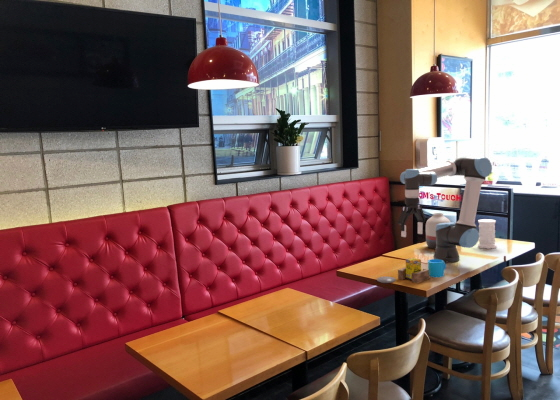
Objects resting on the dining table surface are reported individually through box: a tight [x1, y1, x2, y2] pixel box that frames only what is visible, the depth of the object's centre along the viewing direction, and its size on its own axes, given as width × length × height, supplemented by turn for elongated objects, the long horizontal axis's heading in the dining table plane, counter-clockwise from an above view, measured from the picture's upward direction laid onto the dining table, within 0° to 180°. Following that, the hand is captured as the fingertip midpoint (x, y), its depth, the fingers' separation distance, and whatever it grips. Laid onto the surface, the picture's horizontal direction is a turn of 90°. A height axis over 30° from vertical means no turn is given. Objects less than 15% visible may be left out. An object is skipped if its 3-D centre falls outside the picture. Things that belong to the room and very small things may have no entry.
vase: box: [425, 212, 451, 250], centre depth 306 cm, size 17×17×24 cm
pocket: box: [397, 266, 431, 284], centre depth 242 cm, size 11×12×5 cm
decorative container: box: [477, 218, 498, 250], centre depth 300 cm, size 12×12×18 cm
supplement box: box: [405, 257, 422, 281], centre depth 241 cm, size 6×6×11 cm
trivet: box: [376, 276, 397, 284], centre depth 242 cm, size 10×10×1 cm
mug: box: [427, 258, 447, 278], centre depth 246 cm, size 12×8×8 cm
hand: (412, 235), depth 245 cm, fingers open, 13 cm apart
